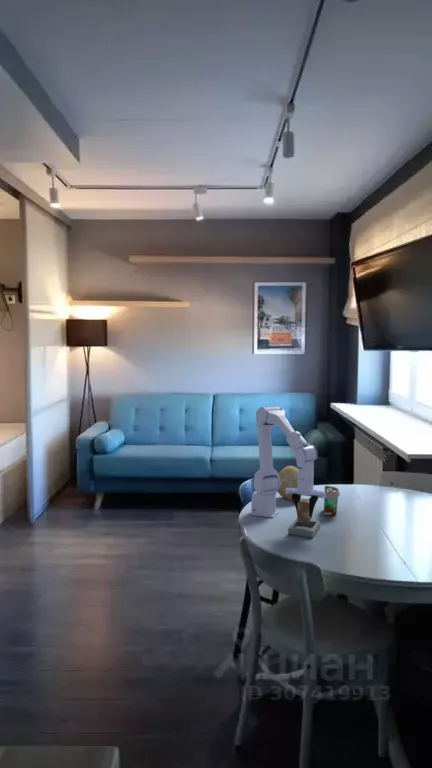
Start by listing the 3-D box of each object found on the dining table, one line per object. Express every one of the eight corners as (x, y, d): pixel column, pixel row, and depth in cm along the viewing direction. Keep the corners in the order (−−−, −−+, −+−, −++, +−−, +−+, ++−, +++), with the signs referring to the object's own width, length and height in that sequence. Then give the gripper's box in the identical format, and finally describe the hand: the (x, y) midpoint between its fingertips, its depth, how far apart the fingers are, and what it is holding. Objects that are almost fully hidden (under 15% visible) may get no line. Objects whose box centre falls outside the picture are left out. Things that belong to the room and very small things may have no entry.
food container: (339, 518, 227) (340, 493, 226) (323, 517, 228) (324, 492, 227) (339, 509, 239) (339, 486, 238) (324, 508, 240) (324, 485, 239)
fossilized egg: (309, 499, 254) (310, 465, 253) (294, 505, 244) (295, 470, 243) (285, 493, 262) (286, 461, 261) (269, 499, 253) (270, 466, 251)
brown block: (297, 521, 209) (297, 502, 208) (301, 516, 215) (302, 498, 215) (307, 523, 207) (308, 504, 207) (312, 517, 214) (312, 499, 213)
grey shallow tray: (288, 534, 208) (288, 528, 207) (296, 524, 219) (296, 518, 218) (312, 538, 204) (312, 531, 204) (319, 528, 215) (320, 521, 215)
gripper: (283, 479, 209) (282, 515, 210) (322, 483, 203) (322, 520, 204) (288, 474, 215) (287, 510, 216) (327, 478, 210) (326, 515, 211)
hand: (304, 514), depth 211 cm, fingers closed on brown block, 4 cm apart
